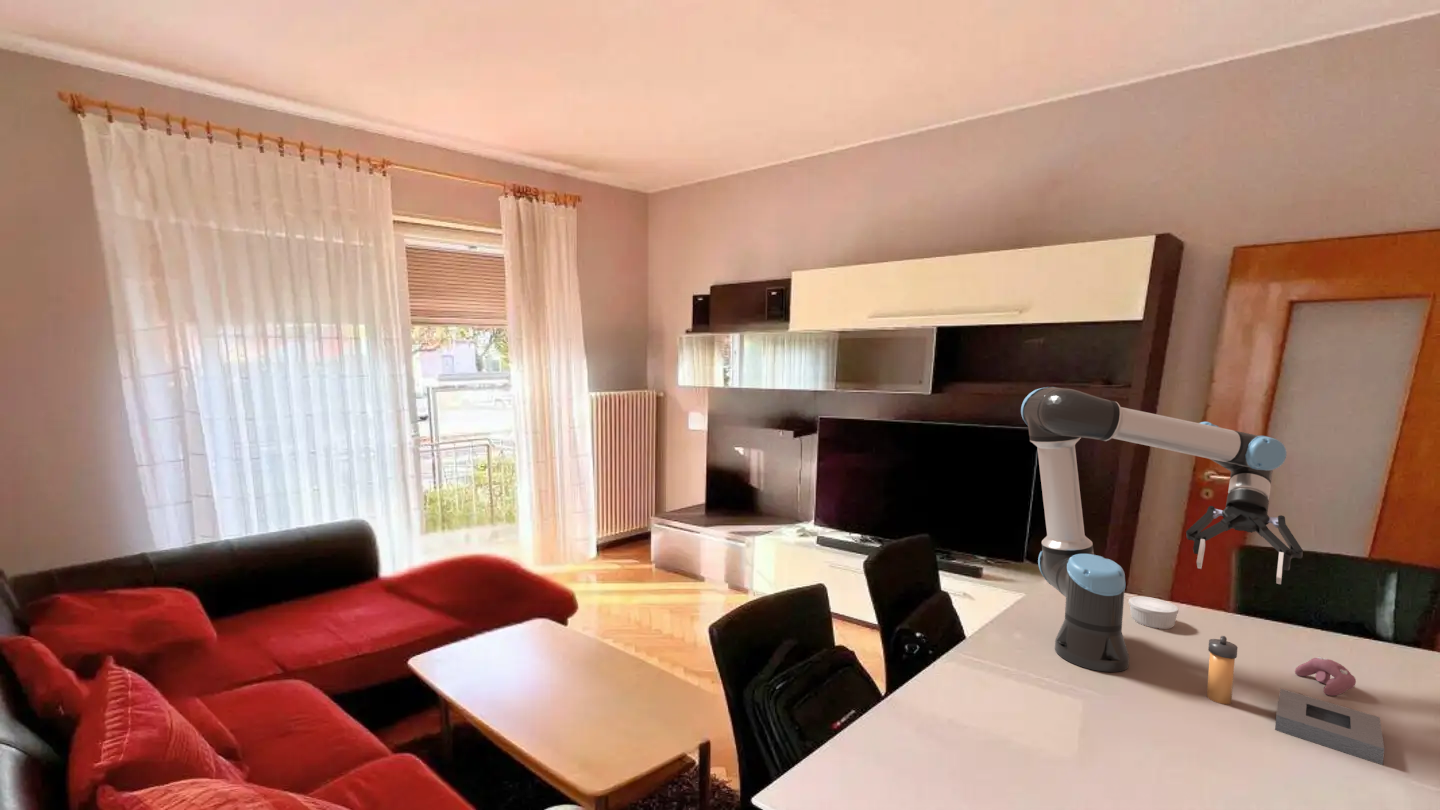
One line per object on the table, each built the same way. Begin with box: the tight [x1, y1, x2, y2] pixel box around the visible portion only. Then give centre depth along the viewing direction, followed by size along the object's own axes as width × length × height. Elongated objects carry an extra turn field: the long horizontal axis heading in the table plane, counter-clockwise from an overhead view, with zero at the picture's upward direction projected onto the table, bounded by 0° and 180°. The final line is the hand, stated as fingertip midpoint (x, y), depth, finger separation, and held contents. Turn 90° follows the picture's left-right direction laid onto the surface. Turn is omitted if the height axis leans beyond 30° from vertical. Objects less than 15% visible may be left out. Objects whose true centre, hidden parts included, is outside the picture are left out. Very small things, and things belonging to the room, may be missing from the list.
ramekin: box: [1128, 595, 1180, 630], centre depth 165 cm, size 11×11×5 cm
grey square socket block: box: [1274, 688, 1385, 766], centre depth 116 cm, size 14×14×3 cm
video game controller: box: [1294, 656, 1357, 697], centre depth 132 cm, size 10×5×7 cm, turn 168°
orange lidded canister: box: [1206, 635, 1238, 705], centre depth 126 cm, size 5×5×14 cm
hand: (1237, 573), depth 135 cm, fingers open, 13 cm apart
